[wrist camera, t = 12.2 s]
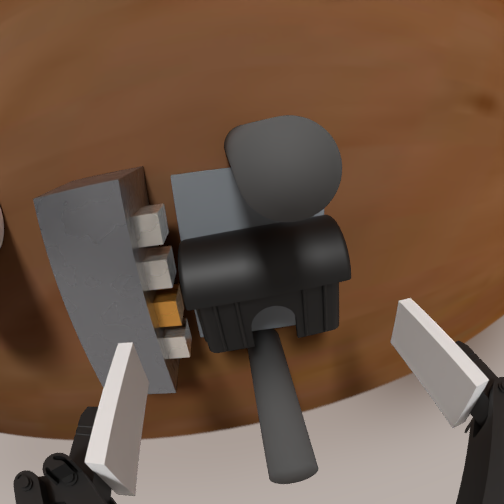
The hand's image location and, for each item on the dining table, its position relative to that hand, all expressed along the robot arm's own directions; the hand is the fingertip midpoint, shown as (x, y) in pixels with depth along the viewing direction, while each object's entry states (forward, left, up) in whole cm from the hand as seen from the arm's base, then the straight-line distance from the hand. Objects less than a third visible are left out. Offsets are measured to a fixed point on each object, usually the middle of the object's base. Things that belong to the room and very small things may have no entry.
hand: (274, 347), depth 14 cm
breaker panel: (-10, 0, -11) cm, 15 cm away
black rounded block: (+1, 0, -11) cm, 11 cm away
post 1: (0, +8, -11) cm, 14 cm away
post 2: (0, -9, -11) cm, 14 cm away
